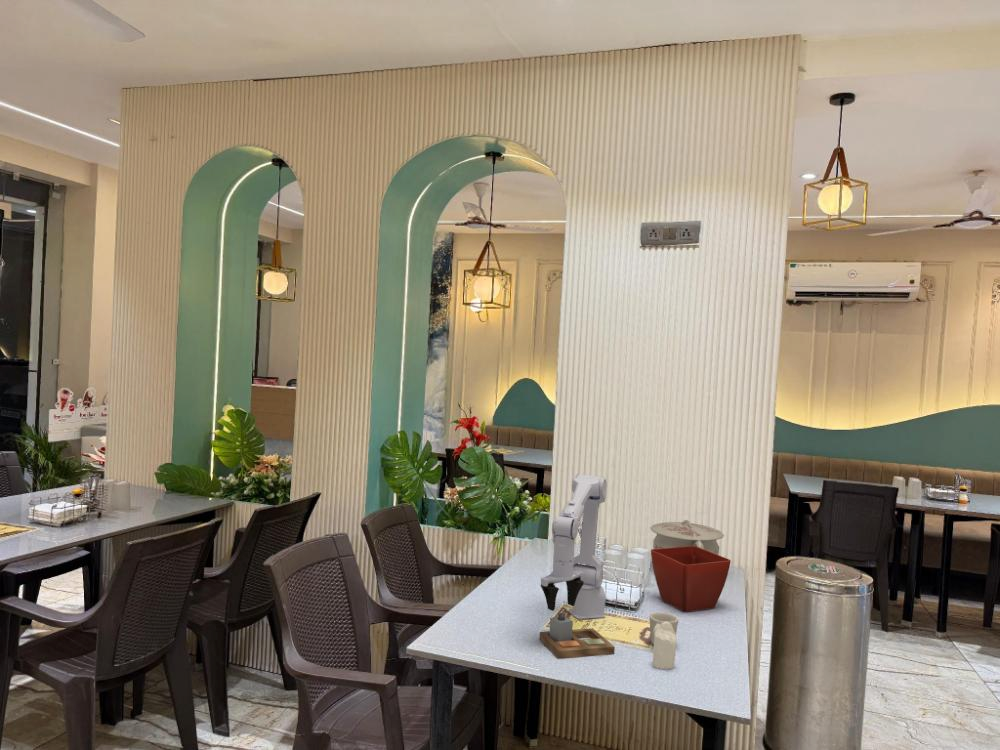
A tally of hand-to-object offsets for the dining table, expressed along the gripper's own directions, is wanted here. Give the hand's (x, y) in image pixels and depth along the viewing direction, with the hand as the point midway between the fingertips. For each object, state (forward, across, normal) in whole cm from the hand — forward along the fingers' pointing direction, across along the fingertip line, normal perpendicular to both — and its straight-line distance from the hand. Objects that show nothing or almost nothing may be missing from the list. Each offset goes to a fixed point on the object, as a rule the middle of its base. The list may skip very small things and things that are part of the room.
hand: (561, 607), depth 210 cm
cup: (+10, -23, +17) cm, 30 cm away
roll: (+10, -13, +27) cm, 31 cm away
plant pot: (+10, -60, -2) cm, 61 cm away
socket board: (+10, -2, +5) cm, 11 cm away
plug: (+10, +1, +1) cm, 10 cm away
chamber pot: (+10, -88, -26) cm, 92 cm away
